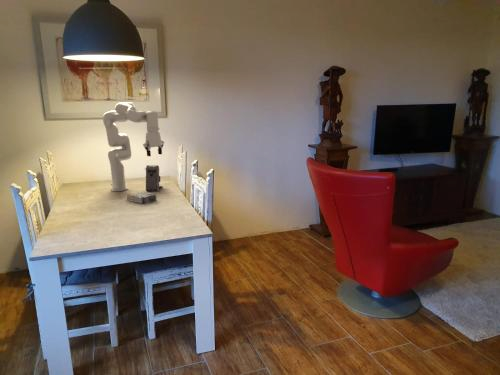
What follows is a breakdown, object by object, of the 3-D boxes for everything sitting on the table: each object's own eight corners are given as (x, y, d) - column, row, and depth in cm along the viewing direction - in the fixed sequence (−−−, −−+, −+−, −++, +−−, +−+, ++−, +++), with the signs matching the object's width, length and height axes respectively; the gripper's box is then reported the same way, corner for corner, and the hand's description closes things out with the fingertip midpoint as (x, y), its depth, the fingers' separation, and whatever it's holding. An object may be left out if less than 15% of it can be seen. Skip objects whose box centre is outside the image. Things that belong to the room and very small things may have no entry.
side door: (126, 199, 262) (126, 193, 261) (128, 199, 263) (127, 193, 262) (142, 204, 252) (142, 197, 251) (144, 203, 253) (143, 197, 252)
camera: (164, 191, 298) (164, 166, 298) (157, 191, 281) (157, 165, 281) (151, 191, 299) (151, 166, 299) (143, 191, 282) (143, 165, 282)
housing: (133, 201, 260) (133, 193, 258) (145, 197, 268) (144, 190, 266) (145, 204, 252) (145, 196, 251) (157, 200, 260) (156, 193, 259)
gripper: (159, 128, 262) (160, 153, 266) (138, 130, 249) (140, 156, 253) (166, 129, 258) (167, 153, 262) (146, 131, 244) (148, 157, 249)
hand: (154, 155), depth 257 cm, fingers open, 9 cm apart
